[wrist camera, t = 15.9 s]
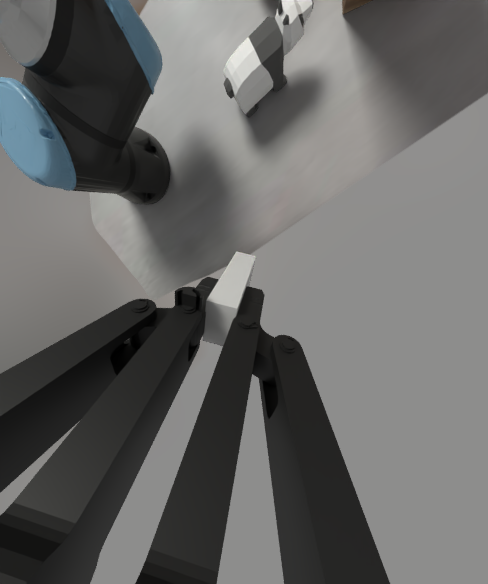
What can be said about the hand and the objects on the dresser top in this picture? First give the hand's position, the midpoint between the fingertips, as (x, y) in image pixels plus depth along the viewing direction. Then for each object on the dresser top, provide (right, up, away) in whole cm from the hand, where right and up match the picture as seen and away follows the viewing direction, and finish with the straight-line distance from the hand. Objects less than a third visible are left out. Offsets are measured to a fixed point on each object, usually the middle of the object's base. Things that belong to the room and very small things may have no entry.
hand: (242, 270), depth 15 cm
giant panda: (+4, +36, +20) cm, 41 cm away
